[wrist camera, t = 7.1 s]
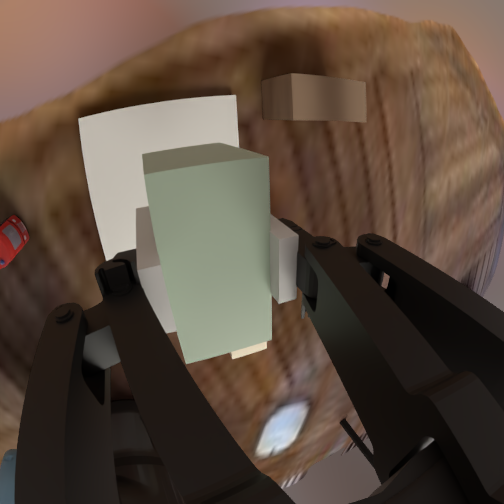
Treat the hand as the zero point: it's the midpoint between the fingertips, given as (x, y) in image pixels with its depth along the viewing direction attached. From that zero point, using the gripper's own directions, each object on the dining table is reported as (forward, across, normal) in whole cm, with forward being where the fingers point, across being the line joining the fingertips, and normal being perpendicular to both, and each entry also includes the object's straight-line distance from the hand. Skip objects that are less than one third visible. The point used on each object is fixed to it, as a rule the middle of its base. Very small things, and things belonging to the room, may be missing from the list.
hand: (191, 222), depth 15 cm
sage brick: (0, 0, 0) cm, 0 cm away
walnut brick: (+13, -14, -7) cm, 20 cm away
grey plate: (+12, 0, 0) cm, 12 cm away
